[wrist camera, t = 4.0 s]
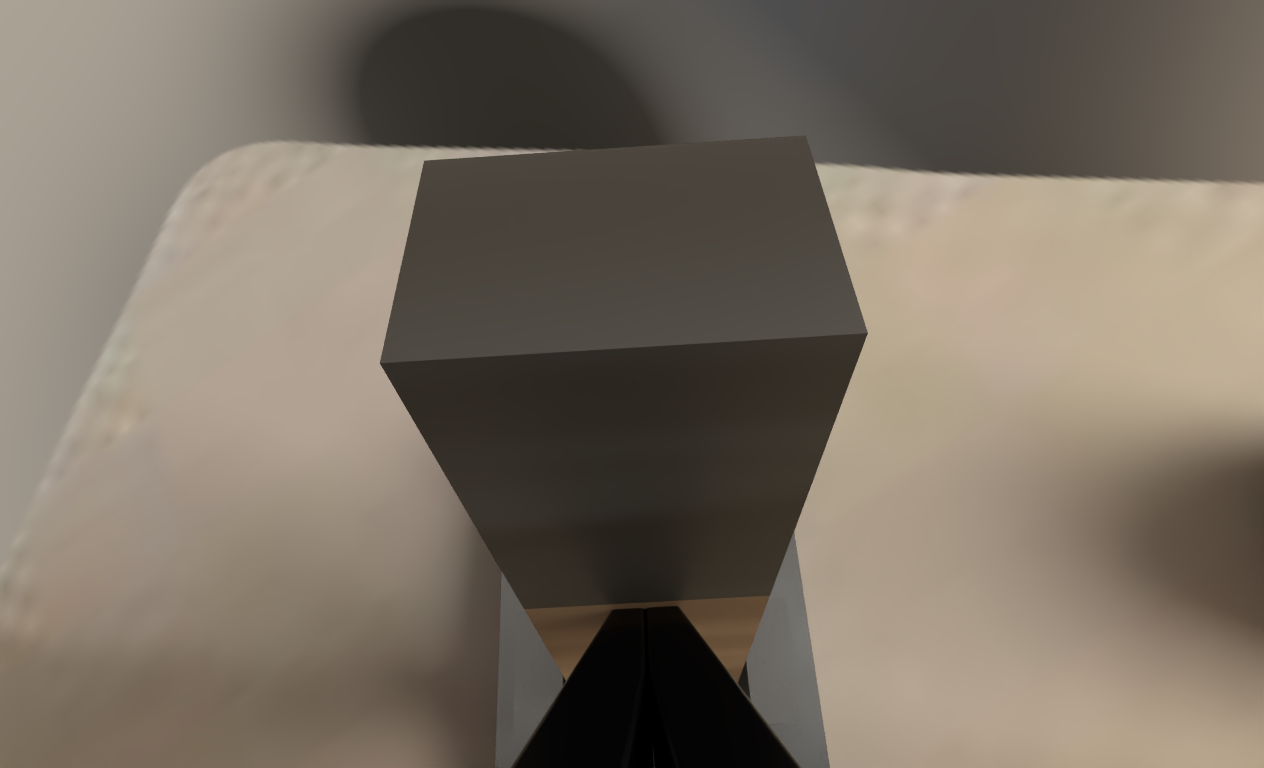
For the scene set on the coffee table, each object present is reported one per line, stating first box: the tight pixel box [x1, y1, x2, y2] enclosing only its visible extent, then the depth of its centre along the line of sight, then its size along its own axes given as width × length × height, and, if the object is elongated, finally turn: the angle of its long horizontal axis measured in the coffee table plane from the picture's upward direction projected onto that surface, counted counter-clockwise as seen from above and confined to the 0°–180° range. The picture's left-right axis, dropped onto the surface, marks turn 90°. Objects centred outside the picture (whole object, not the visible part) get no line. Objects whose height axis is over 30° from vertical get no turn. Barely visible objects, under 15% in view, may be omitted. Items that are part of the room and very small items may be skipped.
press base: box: [495, 533, 830, 768], centre depth 16 cm, size 11×8×5 cm
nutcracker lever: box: [380, 136, 868, 683], centre depth 10 cm, size 2×3×14 cm, turn 93°
